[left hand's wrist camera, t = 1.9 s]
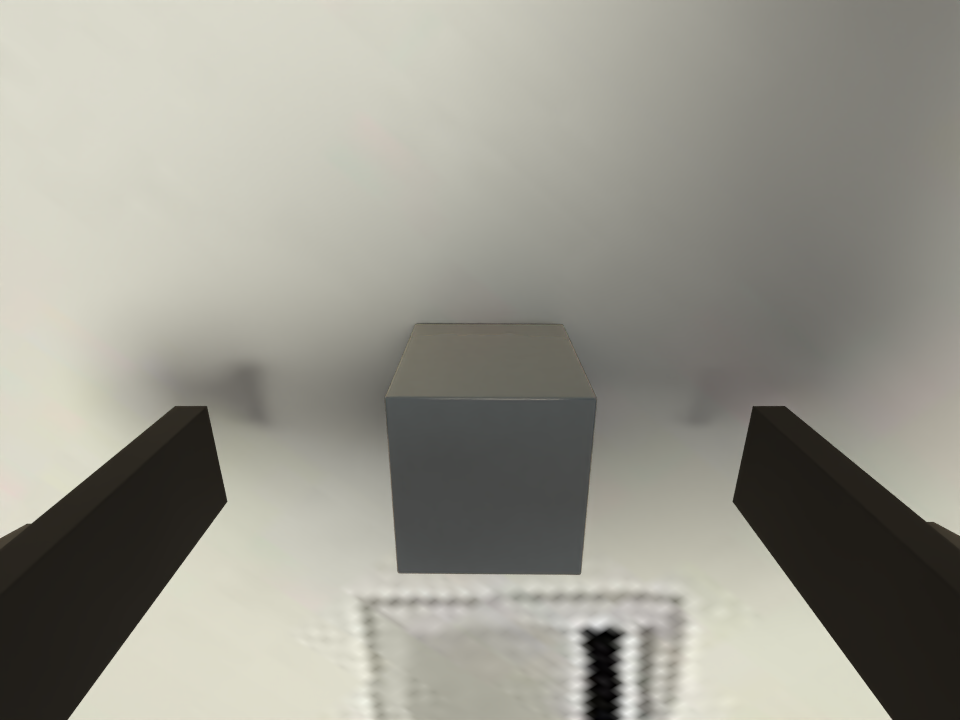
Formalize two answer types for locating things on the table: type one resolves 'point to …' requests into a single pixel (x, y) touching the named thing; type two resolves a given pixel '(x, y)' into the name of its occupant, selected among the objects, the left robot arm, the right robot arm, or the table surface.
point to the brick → (490, 450)
